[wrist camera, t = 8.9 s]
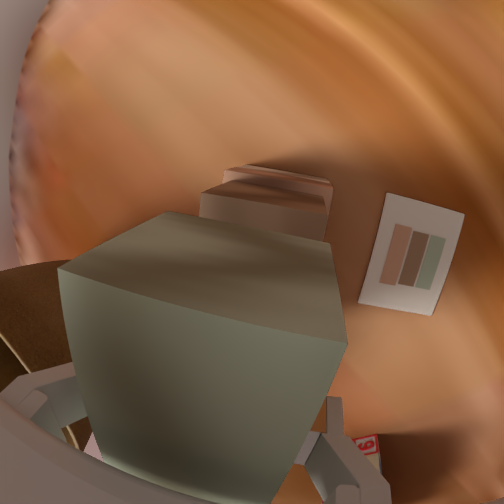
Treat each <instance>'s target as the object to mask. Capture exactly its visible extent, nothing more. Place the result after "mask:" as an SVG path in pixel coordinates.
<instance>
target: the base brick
mask: <svg viewBox="0 0 504 504" xmlns="http://www.w3.org/2000/svg"><path fill="white" fill-rule="evenodd" d="M231 180H234V181H240V182H247V183H253V184H259V185H265V186H271V187H276V188H282V189H287V190H293V191H298V192H303V193H309V194H314V195H319V196H323V198H324V202H325V206H326V209H327V213H328V216H329V211H330V206H331V201H332V196H333V191H334V189H333V187H332V185H331V184H330V182H329V180H328V179H325V178H320V177H315V176H310V175H304V174H299V173H293V172H288V171H282V170H276V169H270V168H264V167H258V166H251V165H243V166H238V167H234V168H230V169H226V170H224V175H223V183H226V182H228V181H231ZM223 183H222V184H223ZM327 221H328V218H327ZM326 226H327V223H326ZM325 231H326V228H325ZM324 235H325V232H324ZM323 240H324V237H323Z"/></svg>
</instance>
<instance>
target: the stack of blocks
mask: <svg viewBox="0 0 504 504" xmlns="http://www.w3.org/2000/svg"><path fill="white" fill-rule="evenodd" d="M352 441H353V442H354V443H355V444H356V445H357V447H358V448H359V449H360V450H361V451H362V453H363V454H364V455H365V456H366V457H367V459H368V460H369V461H370V462H371V463H372V464H373V466H374V467H375V468H376V469H377V470H378V471H379V473H380V474H381V475H382V469H381V458H380V450H379V443H378V436H377V434H374V435H369V436H365V437H361V438H356V439H352ZM323 503H324V501H323V499H322V504H323Z"/></svg>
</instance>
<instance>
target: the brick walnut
mask: <svg viewBox="0 0 504 504" xmlns="http://www.w3.org/2000/svg"><path fill="white" fill-rule="evenodd" d="M199 217H203V218H208V219H213V220H218V221H224V222H229V223H234V224H239V225H244V226H249V227H254V228H259V229H264V230H269V231H274V232H279V233H283V234H288V235H293V236H298V237H303V238H307V239H312V240H317V241H321V242H323V237H324V232H325V228H326V223H327V218H328V213H327V209H326V206H325V202H324V198H323V196H319V195H314V194H309V193H303V192H298V191H293V190H287V189H282V188H276V187H271V186H265V185H259V184H253V183H247V182H240V181H234V180H231V181H228V182H226V183H223V184H221V185H219V186H216V187H214V188H211V189H209V190H206V191H204V192H202V193H201V199H200V208H199Z"/></svg>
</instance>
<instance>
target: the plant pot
mask: <svg viewBox="0 0 504 504" xmlns="http://www.w3.org/2000/svg"><path fill="white" fill-rule="evenodd" d="M69 261H71V260H60V261H51V262H43V263H37V264H31V265H26V266H21V267H16V268H12V269H7V270H4V271H0V393H1V392H2V391H3V390H4V389H5V388H6V387H7V386H8V385H9V384H11V383H12V382H13V381H14V380H15V379H16V378H17V377H18V376H21V375H25V374H29V373H33V372H37V371H41V370H45V369H48V368H52V367H56V366H59V365H63V364H67V363H70V362H73V361H72V357H71V352H70V348H69V343H68V338H67V333H66V327H65V322H64V316H63V309H62V303H61V296H60V288H59V279H58V270H57V268H58V267H60V266H62V265H64V264H65V263H67V262H69ZM61 429H62V431H63V434H64V436H65V438H66V441H67V443H68V444H70V445H72V446H73V447H75V448H77V449H79V450H81V451H84V449H85V447H86V445H87V442H88V440H89V438H90V436H91V433H92V428H91V425H90V422H89V419H88V416H87V417H84V418H82V419H80V420H78V421H76V422H74V423H72V424H70V425H67V426H65V427H63V428H61Z"/></svg>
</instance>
